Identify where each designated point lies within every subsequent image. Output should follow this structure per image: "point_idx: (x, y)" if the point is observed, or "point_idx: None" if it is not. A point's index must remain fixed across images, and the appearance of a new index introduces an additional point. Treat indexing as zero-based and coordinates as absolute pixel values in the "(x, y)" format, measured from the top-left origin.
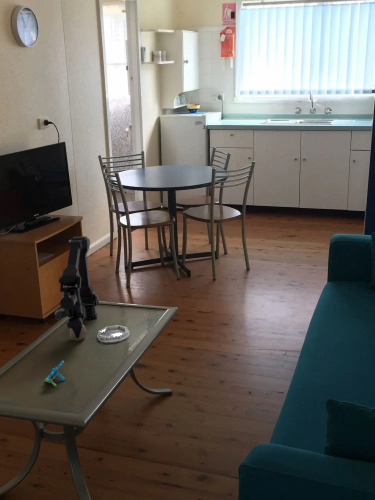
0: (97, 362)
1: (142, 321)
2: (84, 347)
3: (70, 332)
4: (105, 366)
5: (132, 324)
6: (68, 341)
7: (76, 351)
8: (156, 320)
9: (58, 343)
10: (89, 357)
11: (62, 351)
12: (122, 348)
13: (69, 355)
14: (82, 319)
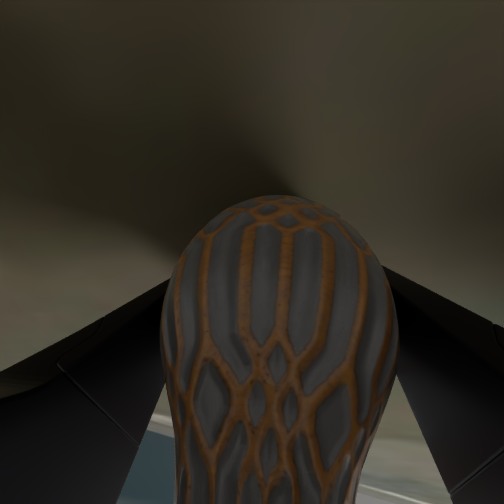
0: (24, 341)
1: (403, 471)
2: (142, 292)
3: (203, 233)
4: (14, 359)
5: (389, 452)
6: (244, 155)
7: (79, 253)
8: (384, 488)
9: (198, 14)
10: (46, 316)
11: (38, 141)
12: (156, 404)
13: (12, 216)
14: (457, 502)
